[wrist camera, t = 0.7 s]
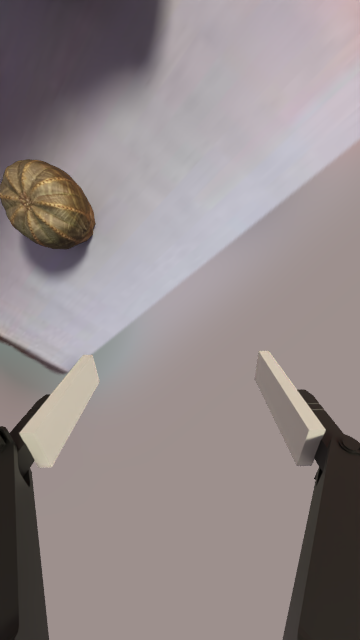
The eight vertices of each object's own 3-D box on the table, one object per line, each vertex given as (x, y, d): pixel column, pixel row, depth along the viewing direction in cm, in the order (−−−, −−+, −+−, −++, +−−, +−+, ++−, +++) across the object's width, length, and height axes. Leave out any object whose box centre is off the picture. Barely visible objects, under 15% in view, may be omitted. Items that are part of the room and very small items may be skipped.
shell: (117, 218, 35) (87, 211, 24) (78, 258, 38) (36, 268, 27) (69, 160, 32) (8, 121, 21) (30, 209, 35) (-41, 197, 24)
